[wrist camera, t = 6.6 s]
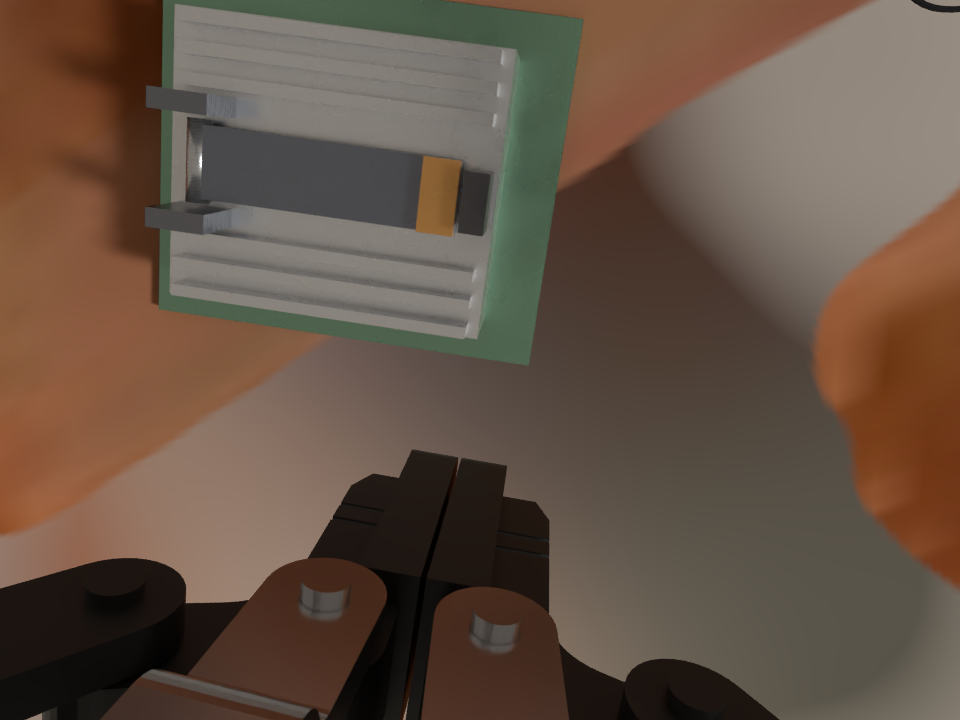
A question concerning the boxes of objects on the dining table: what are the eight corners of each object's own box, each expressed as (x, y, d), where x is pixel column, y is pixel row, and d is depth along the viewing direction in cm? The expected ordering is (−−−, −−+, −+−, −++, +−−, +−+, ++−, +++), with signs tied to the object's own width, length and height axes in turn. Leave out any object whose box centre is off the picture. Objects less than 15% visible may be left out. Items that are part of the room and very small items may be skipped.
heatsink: (169, -33, 35) (72, -79, 28) (582, 21, 34) (592, -12, 27) (164, 306, 39) (79, 342, 32) (528, 362, 38) (524, 411, 31)
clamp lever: (191, 199, 33) (175, 202, 31) (193, 117, 32) (176, 116, 30) (455, 237, 32) (451, 241, 31) (465, 155, 31) (461, 155, 30)
